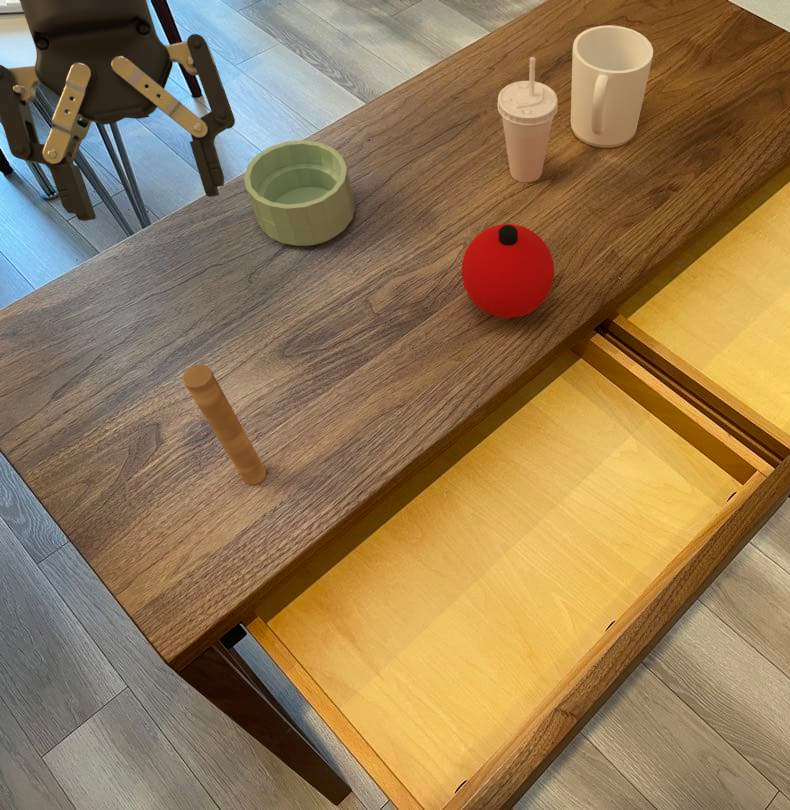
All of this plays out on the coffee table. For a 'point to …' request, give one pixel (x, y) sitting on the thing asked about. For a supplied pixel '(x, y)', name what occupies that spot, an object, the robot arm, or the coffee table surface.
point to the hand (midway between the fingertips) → (151, 207)
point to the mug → (608, 84)
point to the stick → (224, 422)
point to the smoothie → (527, 124)
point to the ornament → (507, 270)
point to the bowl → (300, 192)
